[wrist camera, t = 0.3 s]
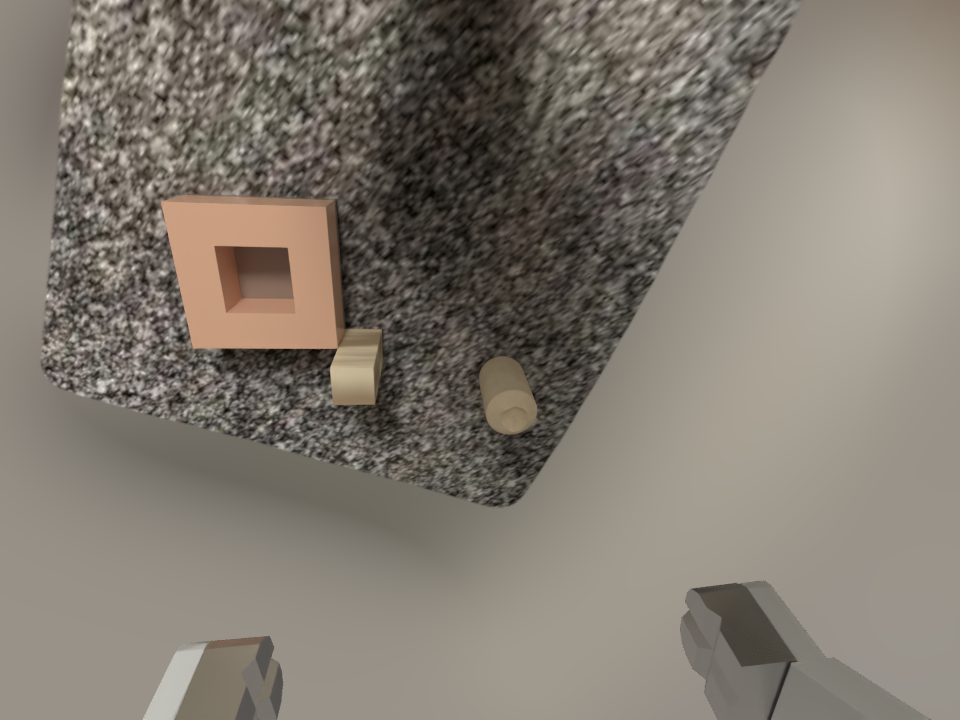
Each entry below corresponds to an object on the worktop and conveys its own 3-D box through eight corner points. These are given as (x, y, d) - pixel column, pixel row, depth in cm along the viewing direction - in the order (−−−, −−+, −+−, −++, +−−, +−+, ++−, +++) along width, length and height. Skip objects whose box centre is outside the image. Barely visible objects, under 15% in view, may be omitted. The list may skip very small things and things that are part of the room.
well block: (188, 193, 48) (160, 201, 43) (336, 198, 50) (325, 207, 45) (214, 327, 54) (193, 348, 49) (345, 328, 56) (337, 348, 51)
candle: (469, 375, 60) (476, 419, 51) (504, 346, 58) (518, 387, 49) (497, 403, 62) (509, 451, 53) (532, 376, 60) (550, 420, 51)
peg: (345, 328, 56) (329, 367, 47) (382, 328, 56) (373, 368, 47) (348, 360, 57) (333, 404, 48) (383, 360, 58) (375, 404, 49)
